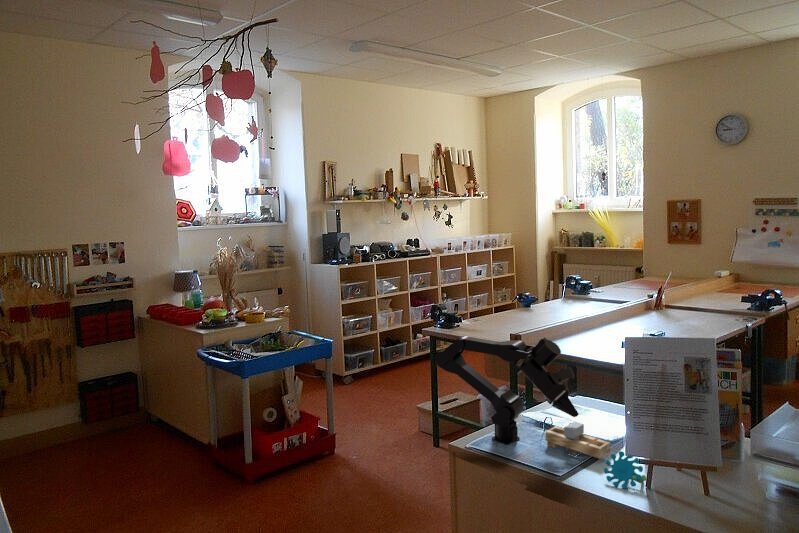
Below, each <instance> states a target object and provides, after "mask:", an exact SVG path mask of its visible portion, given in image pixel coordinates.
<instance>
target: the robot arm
mask: <svg viewBox="0 0 799 533" xmlns="http://www.w3.org/2000/svg"><path fill="white" fill-rule="evenodd" d="M465 351H468V352H472V353H473V352H475V353H481V354H486V355H491V356H495V357H497V358H499V359H500V360H502V361H505V362H507V363H510V364H514V375H518V374H519V373H521V372H522V373H523V375H525V377H526V378H527V379H528V380H529V381H530V382H531V383H532V384H533V386H534V387H535V388H536V389H537V390H539V392H540V393H541V394H542V395H543V396H544V398H545V401H546V402H547V403H548V405H551V407H554V408H555V409H557V410H560V411H561V412H563V413H564V414H568V415H569V416H571V417H572V418H576V417H578V416H579V412H578V411H577V409H576V407H575V406H574V405H573V403H572V401H571V400H570V398H569V389H568V387H567V386H566V384H564V382H565V381H568V380H572V379H574V378H575V374H574V371H573V369H572V368H571V366H569V367H566V368H565V367H562V368H558V371H557V372H554V373H552V372H551V371H548V370H547V369H546V368H545V367H549V365H550V364H552V362H554V361H555V360H556V359H557V358H558V357H559V356H560V355H561V354H562V350H561V348H560V346H559V345H558V344H557V343H555V342H554V341H553V340H550V339H547V338H546V337H542V338H541V339H540V340H539V341H538V343H536V344H535V345H531V344H526V343H525V341H523V340H520V339H519V340H504V341H497V340H491V339H487V338H479V337H474V336H468V335H466V334H465V335H462V336H459V337H458V338H456V339H455V340H454V341H453V342H452V343H451V344H450V345H448V346H447V347H446V348H444V349H441V350H439V351H438V352H436V353H435V355H434V361H435V364H436V365H435V366H437V367H438V368H439V369H441V370H444V371H445V372H447V373H450V374H454V375H457V376H458V377H459V378H460V379H462V380H463V381H464V382H465V383H466V384H467V385H469V386H470V387H471V388H472V389H474V390H475V391H476V392H478V393H479V395H481V396H482V397H484V398H485V399H486V400H488V402H490V403H491V406H492V408H493V409H494V412H495V413H494V414H493V415H492V416H491V417H490V419H491V422H492V425H494V436H492V437H491V440H493V441H496V442H498V443H500V444H504V445H507V446H508V445H511V444H513V443H514V442H517V441H518V440H520V439H521V438H520V436H518V434H519V432H518V430H519V428H518V426H517V421H516V419H518V417H519V416H520V414H522V413H523V411H524V402H523V401H522V399H520V395H517V394H516V393H514V391H513V390H511V389H509V388H508V389H506V390H505V391H504V390H500V389H499V388H498V387H497V386H495V385H494V384H493V383H492V382H491V381H490V380H488V379H486V378H485V377H484V376H483V375H482V374H480V373H479V372H478V371H476V370H475V369H474V368H473V367H472V366H471V365H469V364H468V363H466V360H465V359H464V355H463V353H465ZM530 356H531V357H530ZM528 357H530V358H528ZM522 360H523V361H522ZM520 361H521V363H518V362H520Z"/></svg>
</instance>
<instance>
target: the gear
mask: <svg viewBox="0 0 799 533" xmlns="http://www.w3.org/2000/svg"><path fill="white" fill-rule="evenodd" d="M618 455H619V456H618V459H617V455H616V454H615V453H612V454H610V458H611V460H612V461H613V463H612V464H611V461H610V460H609V459H606V460H605V461H604V464H605V465H606V466H608V467H610V468H611V470H609V469H608V468H607V467H604V468H603V473H604V474H611V475H613V476H611V475H607V476H606V481H607V482H609V483H610V482H612V480H617V481H613V482H612V485H613V487H615V488H618V487H619V486H620V483H622V482H624V483H622V484H621V488H622V489H623V490H628V482H629V481H630V486H631V487H636V486H637V483H639V484H641V485H644V484H645V482H646V481H647V479H648V478H647V477H646V475H645V474H644V475H643V474H642V475H641V474H638V473H636V471H635V470H638V471H639V473H643V471H644V468H643V466H641V465H639V464H640V463H639V461H640V460H639V458H638V457H635V458H634V455H633V456H627V455H626V457H624V456H625V452H624V451H622V450H620V451H618ZM623 457H624V458H623ZM633 458H634V459H633ZM616 459H617V460H616ZM629 459H633V460H629ZM633 464H636V465H637V466H636V465H633ZM636 482H637V483H636Z"/></svg>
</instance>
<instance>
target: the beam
mask: <svg viewBox="0 0 799 533" xmlns="http://www.w3.org/2000/svg"><path fill="white" fill-rule="evenodd" d="M544 440H545V441H546V442H547V444H546V445H547V447H550V448H554V449H556V448H558V447H559V446H562V447H564V448H566V455H568V454H570V455H573V456H576V455H578V454H580V453H582V454H585V455H588V456H591V457H594V458H597V459H601V458H603V457H605V456H606V455H607V454H609V453H610V452H611V442H610V441H606V440H603V439H600V438H598V437H594V436H590V435H587V434H584V433H583V434H581V435H579V440H578V439H575V438H574V439H571V438H568V437H565V436H564V427H562V426H559V425H555V426H552V427H551V428H550V429H548V430H546V431H545V438H544ZM570 455H569V456H570ZM580 455H581V454H580ZM573 456H572V457H573Z"/></svg>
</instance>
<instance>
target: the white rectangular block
mask: <svg viewBox="0 0 799 533" xmlns="http://www.w3.org/2000/svg"><path fill="white" fill-rule="evenodd" d="M584 426H585V424H583V423H581V422H578V421H573V422H571V423H570V424H568V425H566V426H564V427H563V428H564V436H565V437H568V438H571V439H574V438H575V439H578V440H579V435H581V434H584V432H585V429H584V428H585V427H584Z"/></svg>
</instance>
